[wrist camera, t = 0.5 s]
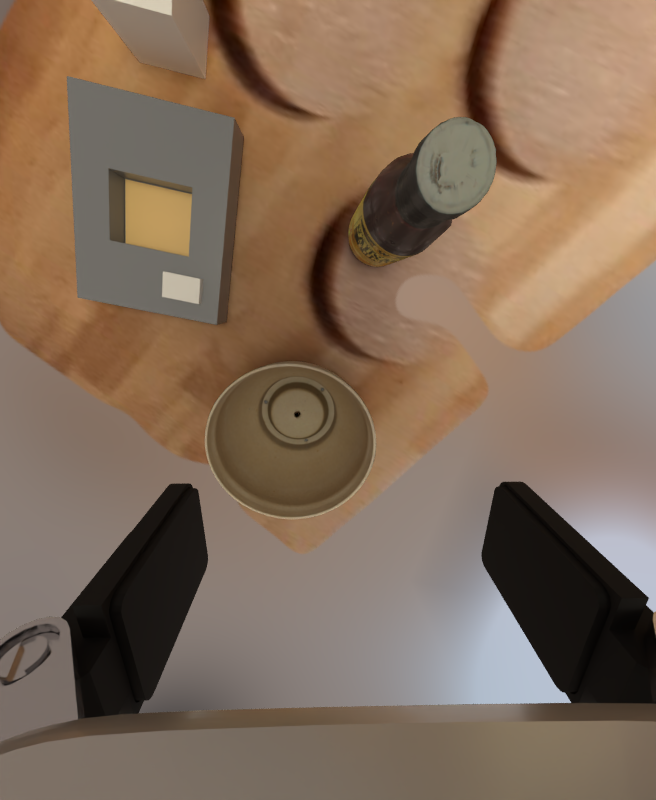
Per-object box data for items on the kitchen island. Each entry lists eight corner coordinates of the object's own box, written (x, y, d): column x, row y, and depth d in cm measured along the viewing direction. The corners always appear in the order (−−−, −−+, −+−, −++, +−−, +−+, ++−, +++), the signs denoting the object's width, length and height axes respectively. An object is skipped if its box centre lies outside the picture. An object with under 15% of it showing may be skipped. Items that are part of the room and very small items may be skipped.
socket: (95, 100, 29) (59, 69, 25) (243, 137, 31) (231, 112, 27) (100, 297, 35) (71, 297, 31) (226, 322, 36) (214, 325, 32)
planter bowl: (388, 405, 40) (411, 443, 29) (304, 486, 43) (298, 545, 33) (292, 316, 36) (281, 324, 26) (209, 412, 40) (169, 453, 29)
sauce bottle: (336, 251, 34) (356, 195, 15) (363, 191, 32) (423, 45, 13) (389, 279, 35) (467, 260, 16) (417, 223, 33) (543, 128, 14)
